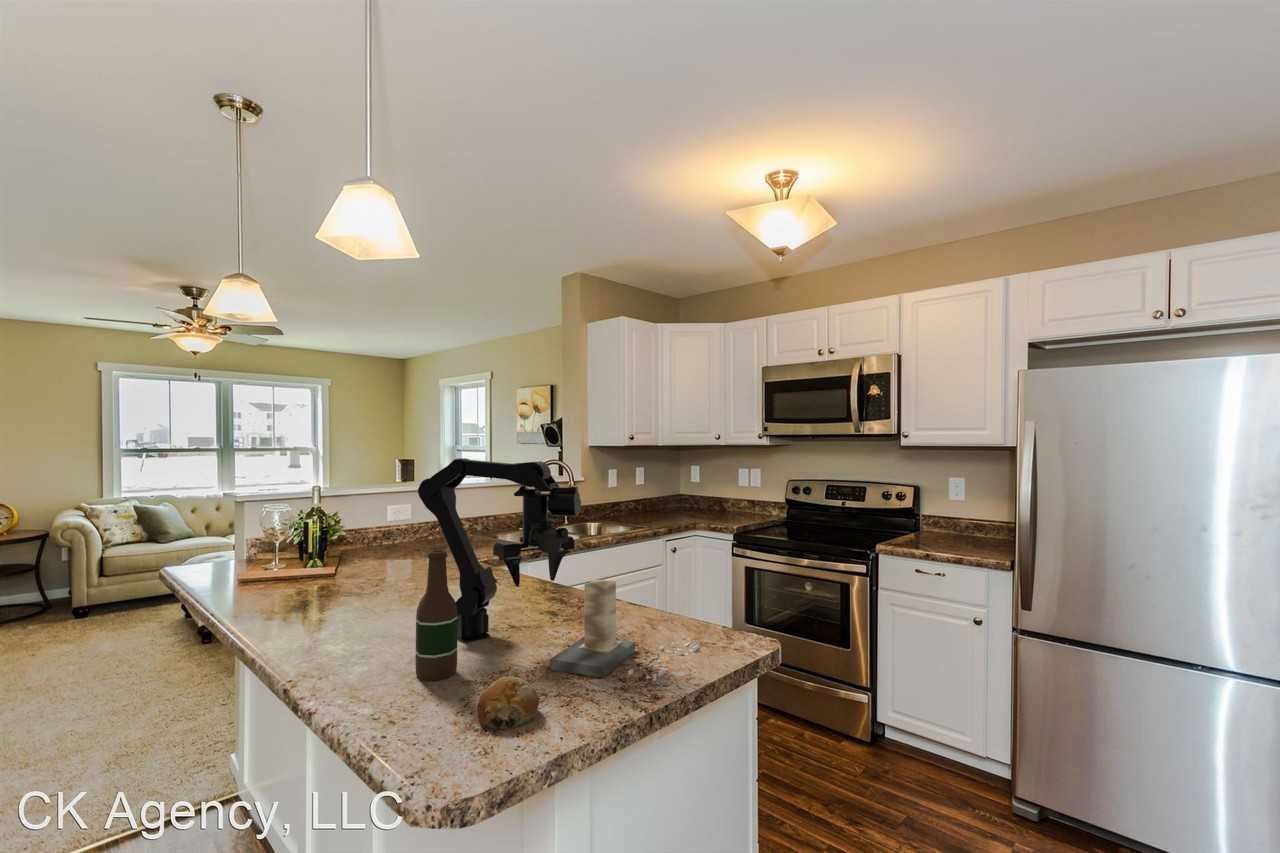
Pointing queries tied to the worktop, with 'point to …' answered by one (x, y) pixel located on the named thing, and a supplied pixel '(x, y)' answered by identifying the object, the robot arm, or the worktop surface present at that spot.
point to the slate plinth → (592, 658)
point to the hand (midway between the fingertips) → (535, 583)
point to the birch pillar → (599, 614)
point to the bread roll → (507, 703)
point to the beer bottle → (436, 624)
